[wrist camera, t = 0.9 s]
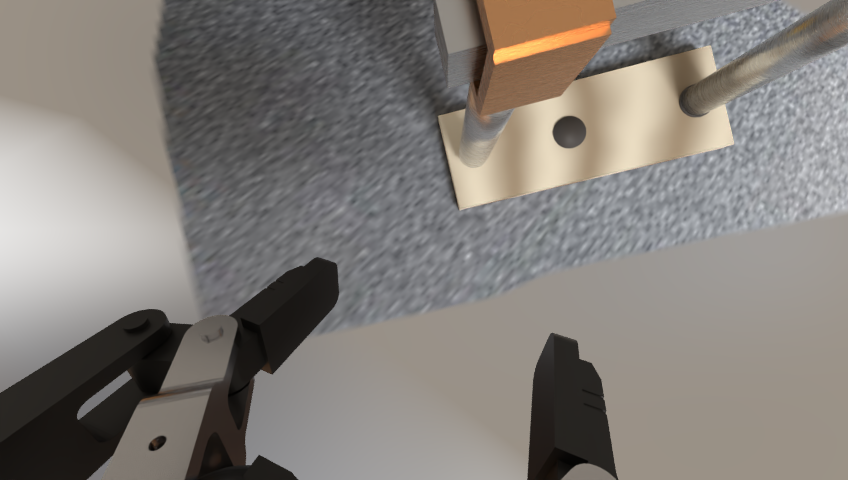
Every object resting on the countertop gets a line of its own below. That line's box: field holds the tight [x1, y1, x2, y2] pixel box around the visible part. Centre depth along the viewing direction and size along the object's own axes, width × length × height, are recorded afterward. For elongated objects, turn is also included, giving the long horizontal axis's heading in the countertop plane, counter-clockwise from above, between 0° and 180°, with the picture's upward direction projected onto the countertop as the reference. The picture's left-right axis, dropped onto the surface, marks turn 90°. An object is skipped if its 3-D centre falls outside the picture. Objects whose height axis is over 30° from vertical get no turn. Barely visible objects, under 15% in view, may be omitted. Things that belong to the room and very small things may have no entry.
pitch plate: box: [438, 45, 734, 210], centre depth 25 cm, size 22×8×1 cm, turn 103°
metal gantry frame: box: [433, 0, 848, 116], centre depth 15 cm, size 22×3×19 cm, turn 103°
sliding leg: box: [459, 0, 617, 168], centre depth 16 cm, size 3×4×17 cm
